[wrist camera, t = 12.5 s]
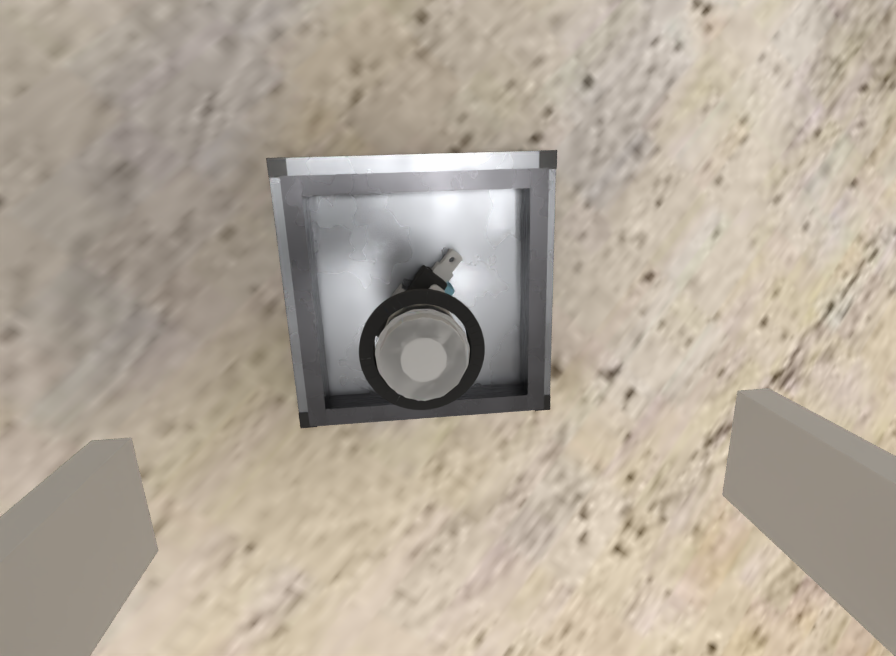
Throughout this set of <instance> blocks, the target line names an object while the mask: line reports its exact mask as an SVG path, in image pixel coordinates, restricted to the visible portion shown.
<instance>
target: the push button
mask: <svg viewBox="0 0 896 656" xmlns="http://www.w3.org/2000/svg"><path fill="white" fill-rule="evenodd" d="M451 257H454V261H453V262H449V259H450V258H451ZM462 260H463V257H462V256H461V255H460V254H458V253H457V252H456V251H455V250H453V249H449V251H448V252H447V253H446V255H445V256H444V257H443V258H442V260H441V261H440V262H438V261H437V262H436V263H435V265H434V266H433V267H432V269H431V268H430V267H426V266H425V265H423V266H422V267H421V268H420V269H419V271H418V272H417V274H416V275H415V277H414V279H413V281H412V283H411V285H410V286H409V288H408V289H407V290H404V289H403V288H402V284H400V285H399V286H398V288H397V289H396V290H395V292H394V293H393V294H392V296H391V297H390V298H388V299H387V300H385V301H384V302H382V303H381V304H380V305H379V306H378V307H377V308H376V309H375V310H374V311H373V312H372V314H371V315H370V316H369V318H368V319H367V321H366V323H365V325H364V328H363V330H362V333H361V337H360V342H359V361H360V365H361V369H362V372H363V374H364V376H365V378H366V380H367V381H368V383H369V385H370V386H371V387H372V388H373V390H374V391H375V392H376V393H377V394H379V395H380V396H381V397H382V398H384V399H385V400H387V401H388V402H390V403H392V404H394V405H397V406H399V407H402V408H406V409H412V410H429V409H435V408H439V407H442V406H445V405H447V404H450V403H451V402H453V401H455V400H457V399H458V398H460V397H461V396H462V395H463V394H464V393H466V392H467V391H468V390H469V389H470V387H471V386H472V385H473V384H474V382H475V381H476V379H477V377H478V375H479V373H480V371H481V368H482V365H483V361H484V355H485V343H484V337H483V333H482V330H481V327H480V325H479V323H478V321H477V319H476V318H475V316H474V315H473V313H472V312H471V311H470V310H469V308H468V307H467V306H466V305H465V304H463V303H462V302H461V301H460V300H458V299H457V298H455V297H453V296H452V295H453V294H454V292H455V290H454V288H453V287H452V285H451V283H449V281H450V279H451V278H452V277H453V274H452V272H453V271H454V270H455V269H456V267H457V266H458V265H459V263H460V262H461V261H462ZM450 312H451V313H452V314H454V315H455V316H456V317H457V318H458V319H459V320H460V321H461V322H462V323H463V325H464V327H465V330H466V335H465V332H464V330H463V329H462V327H461V326H460V325H459V324H458V323H457V322H456V321H455V320H454V319H453V317H452V315H451V314H450ZM376 336H377V337H378V338H379V339H378V342H377V346H376V350H375V337H376ZM466 337H467V338H466Z"/></svg>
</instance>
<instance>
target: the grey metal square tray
mask: <svg viewBox="0 0 896 656" xmlns="http://www.w3.org/2000/svg"><path fill="white" fill-rule="evenodd" d="M266 160H267V168H268V175H269V180H270V188H271V195H272V203H273V211H274V219H275V227H276V235H277V243H278V251H279V258H280V266H281V274H282V282H283V290H284V298H285V306H286V314H287V322H288V329H289V337H290V345H291V353H292V361H293V369H294V377H295V385H296V393H297V400H298V408H299V419H300V427H301V428H308V427H317V426H325V425H339V424H352V423H366V422H379V421H393V420H407V419H420V418H434V417H447V416H461V415H474V414H488V413H502V412H515V411H529V410H535V411H538V410H550V372H551V335H552V298H553V260H554V223H555V185H556V168H557V150H550V151H518V152H482V153H445V154H408V155H372V156H335V157H298V158H266ZM449 249H453V250H455V251H456V252H457V253H458V254H460V255H461V256H462V257H463V260H462V261H461V262H460V263H459V265H458V266H457V267H456V269H455V270H454V271H453V272H452V274H453V277H452V278H451V279H450V281H449V283H451V285H452V287H453V288H454V290H455V292H454V294H453V295H452V296H453V297H455V298H457V299H458V300H460V301H461V302H462V303H463V304H465V305H466V306H467V307H468V308H469V310H470V311H471V312H472V313H473V315H474V316H475V318H476V319H477V321H478V323H479V325H480V327H481V330H482V333H483V337H484V343H485V355H484V361H483V365H482V368H481V371H480V373H479V375H478V377H477V379H476V381H475V382H474V384H473V385H472V386H471V387H470V389H469V390H468V391H467V392H466V393H464V394H463V395H462V396H461V397H460V398H458V399H457V400H455V401H453V402H451V403H450V404H447V405H445V406H442V407H439V408H435V409H429V410H412V409H406V408H402V407H399V406H397V405H394V404H392V403H390V402H388V401H387V400H385V399H384V398H382V397H381V396H380V395H379V394H377V393H376V392H375V391H374V390H373V388H372V387H371V386H370V385H369V383H368V381H367V380H366V378H365V376H364V374H363V372H362V369H361V365H360V361H359V342H360V337H361V333H362V330H363V328H364V325H365V323H366V321H367V319H368V318H369V316H370V315H371V314H372V312H373V311H374V310H375V309H376V308H377V307H378V306H379V305H380V304H381V303H382V302H384V301H385V300H387V299H388V298H390V297H391V296H392V294H393V293H394V292H395V290H396V289H397V288H398V286H399V285H400V284H402V288H403V289H404V290H407V289H408V288H409V286H410V285H411V283H412V281H413V279H414V277H415V275H416V274H417V272H418V271H419V269H420V268H421V267H422V266H423V265H425V266H426V267H430V268H431V269H432V267H433V266H434V265H435V263H436V262H437V261H438V262H440V261H441V260H442V258H443V257H444V256H445V255H446V253H447V252H448V251H449ZM453 261H454V257H451V258H450V259H449V262H453ZM450 314H451V315H452V317H453V319H454V320H455V321H456V322H457V323H458V324H459V325H460V326H461V327H462V329H463V330H464V332H465V335H466V330H465V327H464V325H463V323H462V322H461V321H460V320H459V319H458V318H457V317H456V316H455V315H454V314H452V313H451V312H450ZM466 338H467V337H466ZM378 339H379V338H378V337H377V336H376V337H375V350H376V346H377V342H378Z"/></svg>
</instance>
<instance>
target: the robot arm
mask: <svg viewBox="0 0 896 656" xmlns="http://www.w3.org/2000/svg"><path fill="white" fill-rule="evenodd" d="M722 495H723V496H724V497H725V498H726V499H727V500H728V501H729V502H730V503H731V504H733V505H734V506H735V507H736V508H737V509H738V510H739V511H740V512H741V513H742V514H743V515H744V516H745V517H746V518H747V519H749V520H750V521H751V522H752V523H753V524H754V525H755V526H756V527H757V528H758V529H759V530H760V531H761V532H762V533H764V534H765V535H766V536H767V537H768V538H769V539H770V540H771V541H772V542H773V543H774V544H775V545H776V546H777V547H779V548H780V549H781V550H782V551H783V552H784V553H785V554H786V555H787V556H788V557H789V558H790V559H791V560H792V561H794V562H795V563H796V564H797V565H798V566H799V567H800V568H801V569H802V570H803V571H804V572H805V573H806V574H807V575H809V576H810V577H811V578H812V579H813V580H814V581H815V582H816V583H817V584H818V585H819V586H820V587H821V588H822V589H824V590H825V591H826V592H827V593H828V594H829V595H830V596H831V597H832V598H833V599H834V600H835V601H836V602H837V603H839V604H840V605H841V606H842V607H843V608H844V609H845V610H846V611H847V612H848V613H849V614H850V615H851V616H852V617H854V618H855V619H856V620H857V621H858V622H859V623H860V624H861V625H862V626H863V627H864V628H865V629H866V630H867V631H868V632H870V633H871V634H872V635H873V636H874V637H875V638H876V639H877V640H878V641H879V642H880V643H881V644H882V645H883V646H885V647H886V648H887V649H888V650H889V651H890V652H891V653H892V654H893V655H894V656H896V456H894V455H893V454H891V453H889V452H887V451H885V450H883V449H881V448H879V447H878V446H876V445H874V444H872V443H870V442H868V441H866V440H864V439H863V438H861V437H859V436H857V435H855V434H853V433H851V432H850V431H848V430H846V429H844V428H842V427H840V426H838V425H836V424H835V423H833V422H831V421H829V420H827V419H825V418H823V417H821V416H820V415H818V414H816V413H814V412H812V411H810V410H808V409H806V408H805V407H803V406H801V405H799V404H797V403H795V402H793V401H791V400H790V399H788V398H786V397H784V396H782V395H780V394H778V393H777V392H775V391H773V390H771V389H769V388H767V389H754V390H741V391H737V398H736V405H735V411H734V418H733V425H732V432H731V439H730V446H729V453H728V459H727V466H726V473H725V480H724V487H723V494H722ZM157 552H158V547H157V543H156V538H155V534H154V530H153V526H152V522H151V518H150V513H149V509H148V505H147V501H146V497H145V492H144V488H143V484H142V480H141V476H140V471H139V467H138V463H137V459H136V455H135V450H134V446H133V442H132V438H119V439H106V440H94V441H90V442H89V443H88V444H87V445H86V446H84V447H83V448H82V449H81V450H80V451H78V452H77V453H76V454H75V455H74V456H72V457H71V458H70V459H69V460H68V461H66V462H65V463H64V464H63V465H62V466H60V467H59V468H58V469H57V470H56V471H55V472H53V473H52V474H51V475H50V476H49V477H47V478H46V479H45V480H44V481H43V482H41V483H40V484H39V485H38V486H37V487H35V488H34V489H33V490H32V491H31V492H29V493H28V494H27V495H26V496H25V497H23V498H22V499H21V500H20V501H19V502H17V503H16V504H15V505H14V506H13V507H11V508H10V509H9V510H8V511H7V512H6V513H4V514H3V515H2V516H1V517H0V656H90V655H91V654H92V652H93V651H94V649H95V647H96V646H97V644H98V643H99V641H100V640H101V638H102V637H103V635H104V634H105V632H106V630H107V629H108V627H109V626H110V624H111V623H112V621H113V620H114V618H115V617H116V615H117V613H118V612H119V610H120V609H121V607H122V606H123V604H124V603H125V601H126V600H127V598H128V597H129V595H130V593H131V592H132V590H133V589H134V587H135V586H136V584H137V583H138V581H139V580H140V578H141V576H142V575H143V573H144V572H145V570H146V569H147V567H148V566H149V564H150V563H151V561H152V559H153V558H154V556H155V555H156V553H157Z"/></svg>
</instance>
